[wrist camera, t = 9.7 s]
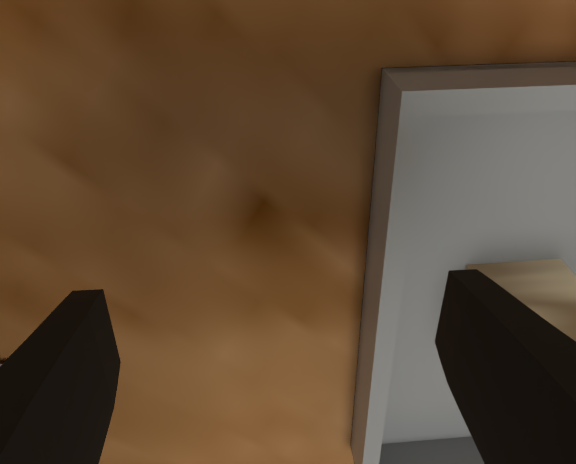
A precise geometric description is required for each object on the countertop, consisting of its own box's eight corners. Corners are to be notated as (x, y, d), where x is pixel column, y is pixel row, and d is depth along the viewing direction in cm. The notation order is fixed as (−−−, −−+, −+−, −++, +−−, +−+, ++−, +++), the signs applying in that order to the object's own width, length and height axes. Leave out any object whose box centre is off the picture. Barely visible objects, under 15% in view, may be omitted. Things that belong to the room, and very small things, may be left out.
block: (450, 336, 24) (509, 456, 19) (466, 264, 21) (537, 377, 16) (537, 330, 24) (618, 446, 19) (560, 258, 22) (658, 367, 17)
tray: (350, 445, 28) (359, 489, 26) (381, 68, 17) (402, 91, 15) (565, 427, 29) (591, 469, 27) (722, 56, 18) (786, 76, 16)
